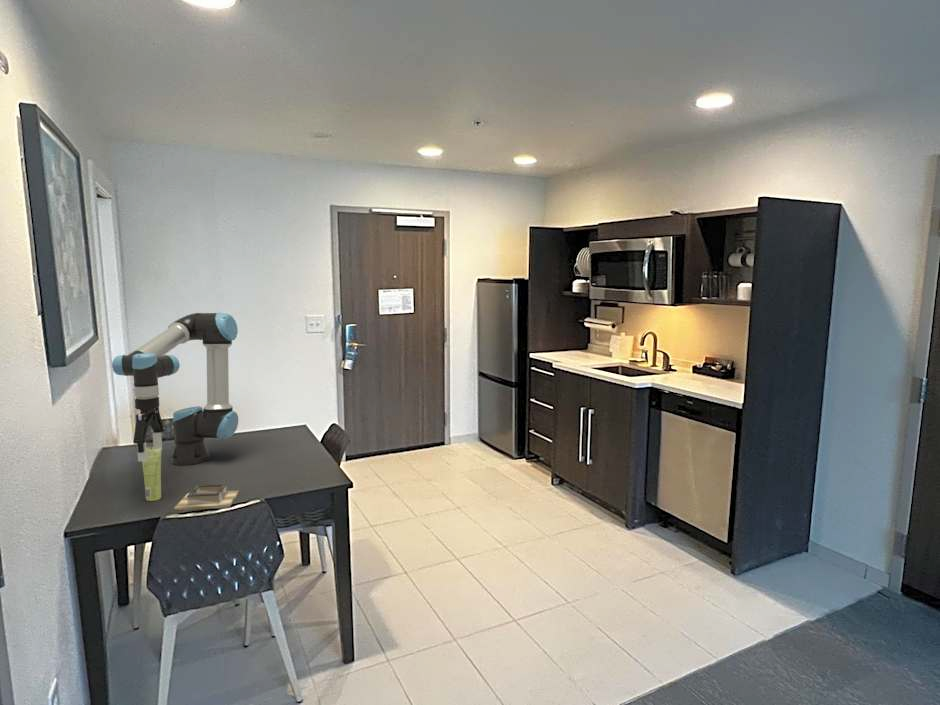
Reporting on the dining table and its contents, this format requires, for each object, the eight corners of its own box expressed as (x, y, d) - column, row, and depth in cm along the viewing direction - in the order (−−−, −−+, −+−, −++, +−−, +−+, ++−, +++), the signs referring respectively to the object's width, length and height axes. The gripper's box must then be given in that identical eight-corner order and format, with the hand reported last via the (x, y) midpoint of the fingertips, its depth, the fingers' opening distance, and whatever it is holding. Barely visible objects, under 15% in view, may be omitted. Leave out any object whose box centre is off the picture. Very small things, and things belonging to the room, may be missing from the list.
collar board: (188, 495, 214) (187, 484, 213) (239, 493, 216) (238, 481, 216) (174, 510, 200) (173, 498, 200) (229, 507, 203) (228, 495, 202)
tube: (160, 495, 214) (156, 443, 212) (165, 498, 211) (161, 446, 208) (143, 499, 210) (139, 447, 208) (148, 503, 207) (144, 449, 204)
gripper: (149, 391, 217) (153, 446, 220) (119, 404, 193) (123, 466, 195) (171, 390, 218) (174, 445, 221) (143, 403, 194) (147, 465, 196)
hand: (150, 455), depth 208 cm, fingers open, 13 cm apart
